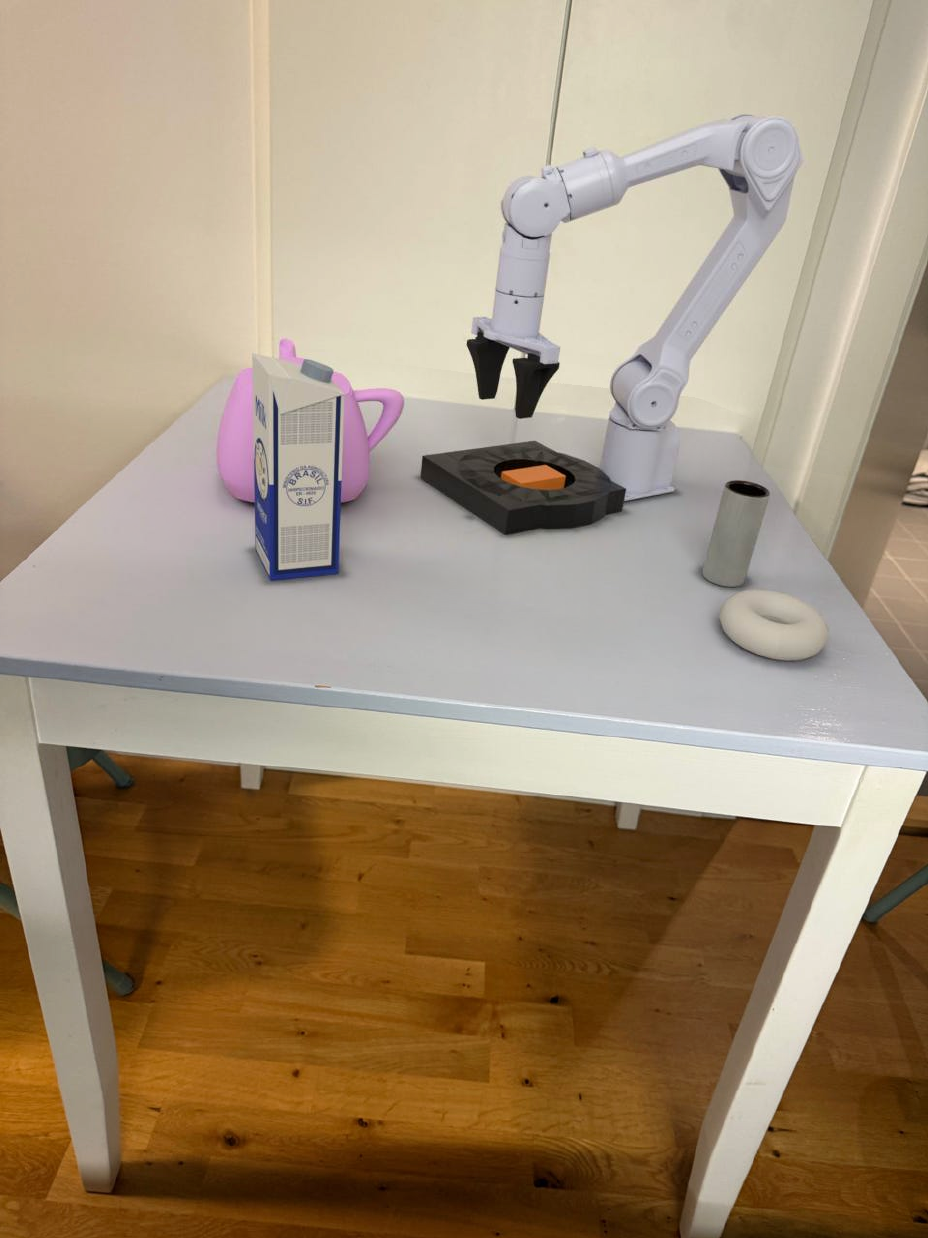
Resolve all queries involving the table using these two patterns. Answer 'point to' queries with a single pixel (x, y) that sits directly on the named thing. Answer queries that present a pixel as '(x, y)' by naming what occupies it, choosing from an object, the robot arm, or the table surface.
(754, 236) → the robot arm
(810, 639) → the donut
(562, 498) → the square plate with hole
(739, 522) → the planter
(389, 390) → the teapot
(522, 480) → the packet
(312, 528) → the milk carton
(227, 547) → the table surface
